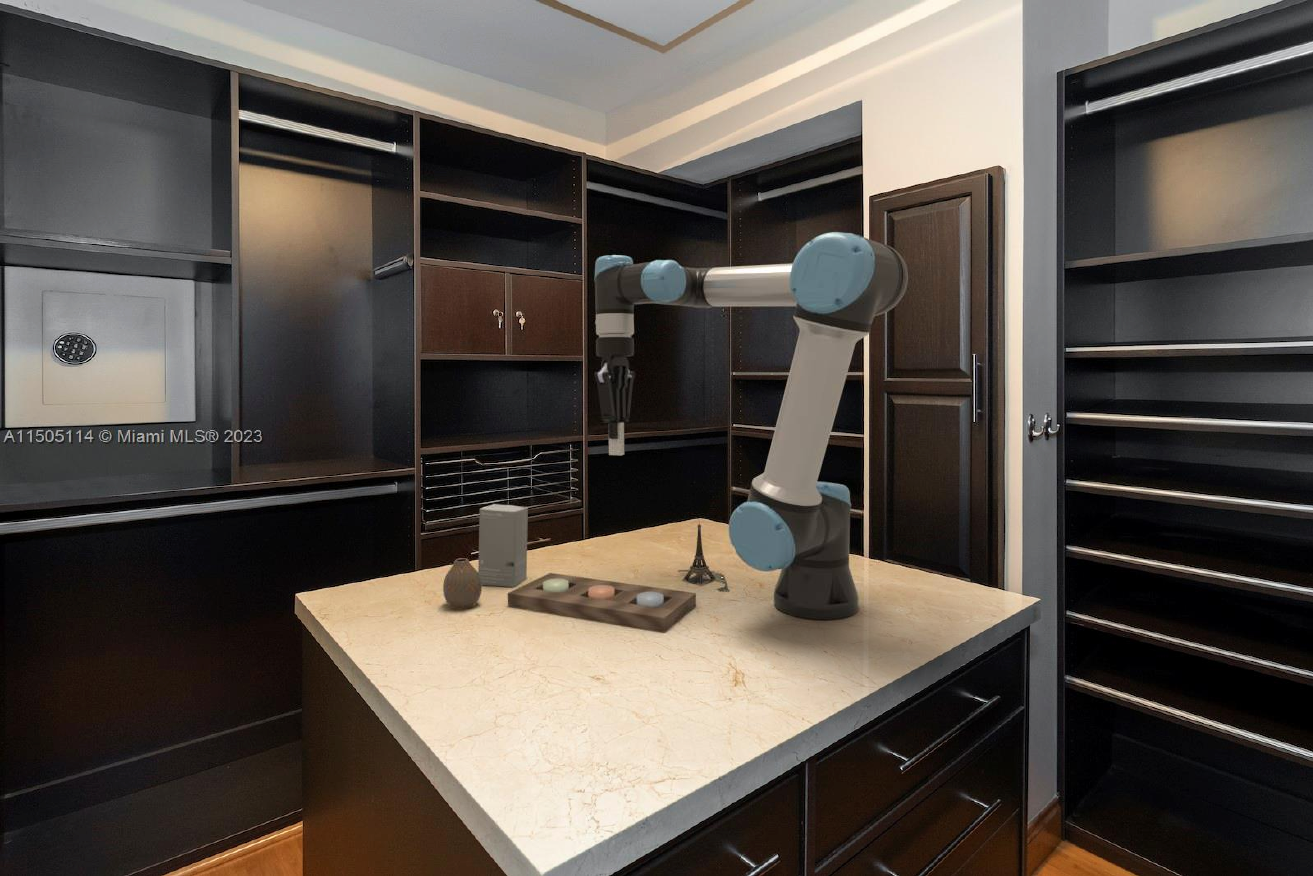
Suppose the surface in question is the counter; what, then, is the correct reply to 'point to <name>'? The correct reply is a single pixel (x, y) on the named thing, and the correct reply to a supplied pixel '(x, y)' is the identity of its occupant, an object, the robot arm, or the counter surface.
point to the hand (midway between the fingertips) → (616, 454)
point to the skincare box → (503, 545)
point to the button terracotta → (601, 592)
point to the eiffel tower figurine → (702, 569)
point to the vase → (462, 585)
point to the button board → (604, 602)
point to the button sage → (555, 585)
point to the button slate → (650, 599)
